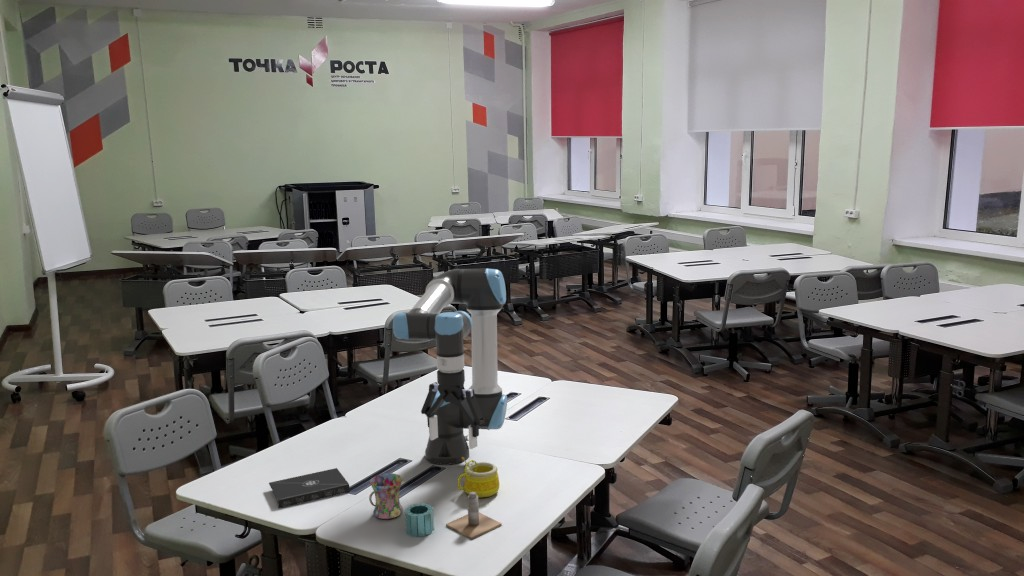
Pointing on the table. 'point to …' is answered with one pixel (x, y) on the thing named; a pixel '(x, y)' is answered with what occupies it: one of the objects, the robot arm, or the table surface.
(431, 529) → the teal slatted pot
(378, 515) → the mug
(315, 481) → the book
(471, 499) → the peg on square base
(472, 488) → the mug
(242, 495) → the table surface
